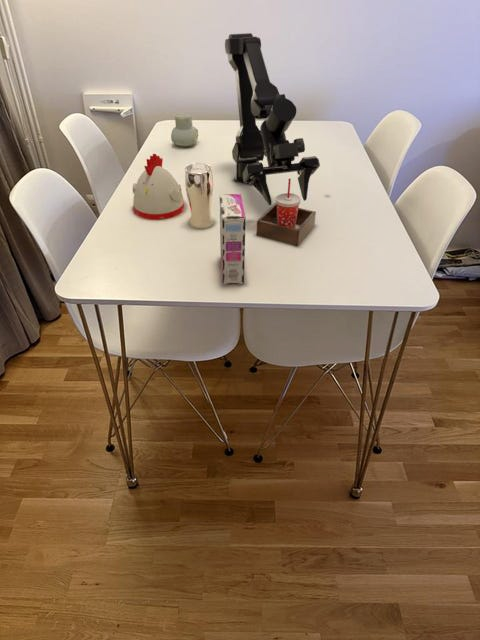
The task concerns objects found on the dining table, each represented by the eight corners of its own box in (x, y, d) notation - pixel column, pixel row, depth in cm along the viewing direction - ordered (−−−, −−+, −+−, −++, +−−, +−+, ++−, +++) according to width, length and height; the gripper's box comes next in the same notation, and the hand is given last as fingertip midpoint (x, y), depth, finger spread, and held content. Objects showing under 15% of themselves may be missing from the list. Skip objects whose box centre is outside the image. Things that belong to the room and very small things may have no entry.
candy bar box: (245, 284, 101) (246, 217, 91) (222, 285, 101) (221, 218, 90) (241, 257, 110) (241, 192, 99) (220, 258, 109) (218, 193, 99)
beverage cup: (290, 239, 116) (295, 186, 107) (269, 232, 119) (272, 180, 110) (301, 228, 120) (306, 177, 111) (280, 222, 123) (284, 171, 113)
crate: (256, 235, 117) (256, 220, 115) (274, 216, 125) (275, 202, 122) (297, 246, 113) (299, 231, 111) (314, 226, 121) (316, 211, 118)
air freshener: (177, 138, 172) (175, 110, 166) (199, 139, 171) (198, 111, 165) (170, 148, 164) (167, 119, 157) (193, 150, 163) (191, 120, 156)
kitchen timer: (125, 214, 126) (115, 160, 116) (149, 194, 136) (142, 142, 126) (170, 223, 122) (164, 168, 113) (192, 201, 132) (188, 149, 122)
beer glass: (218, 219, 124) (216, 164, 114) (208, 231, 119) (206, 175, 109) (194, 215, 126) (191, 161, 116) (184, 227, 121) (179, 171, 111)
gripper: (246, 129, 105) (260, 195, 104) (321, 122, 109) (335, 185, 108) (236, 152, 116) (249, 211, 115) (305, 144, 120) (318, 202, 119)
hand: (288, 202), depth 114 cm, fingers open, 9 cm apart
